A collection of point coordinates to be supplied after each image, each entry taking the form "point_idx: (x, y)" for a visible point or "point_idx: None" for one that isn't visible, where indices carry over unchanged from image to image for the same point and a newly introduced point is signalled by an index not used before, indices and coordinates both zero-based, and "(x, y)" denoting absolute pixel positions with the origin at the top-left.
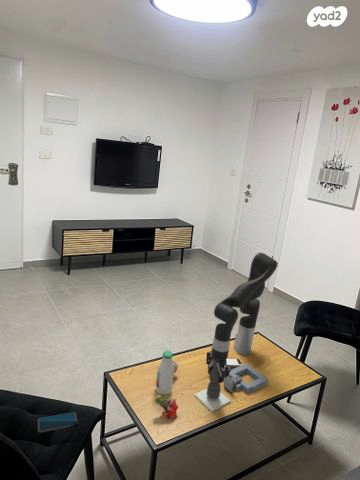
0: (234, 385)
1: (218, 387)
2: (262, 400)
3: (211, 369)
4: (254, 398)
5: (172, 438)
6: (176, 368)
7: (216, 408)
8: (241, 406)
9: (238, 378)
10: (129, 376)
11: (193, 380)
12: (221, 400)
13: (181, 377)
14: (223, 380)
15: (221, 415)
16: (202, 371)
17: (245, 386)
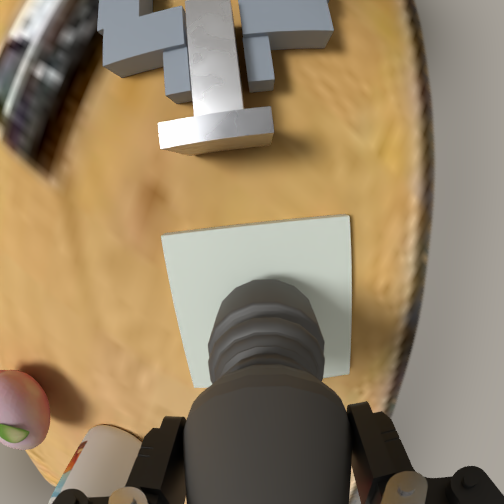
0: (241, 85)
1: (318, 371)
2: (406, 19)
3: (178, 496)
4: (378, 40)
5: (350, 499)
6: (26, 406)
7: (350, 339)
8: (404, 169)
9: (216, 24)
10: (52, 466)
11: (78, 306)
12: (317, 275)
13: (52, 345)
14: (393, 433)
15: (393, 331)
16: (27, 205)
17: (305, 26)
